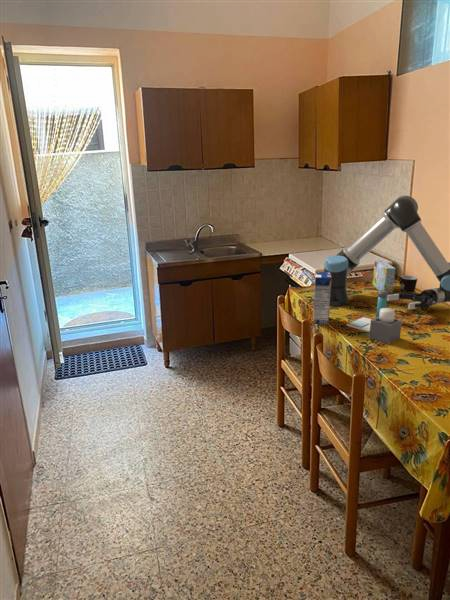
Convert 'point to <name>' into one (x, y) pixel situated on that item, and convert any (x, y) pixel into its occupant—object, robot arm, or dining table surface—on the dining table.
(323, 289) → the beverage box
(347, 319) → the dining table surface
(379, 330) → the button console
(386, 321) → the button
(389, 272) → the snack box
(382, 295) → the marker
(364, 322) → the white sorting board
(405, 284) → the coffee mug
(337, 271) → the robot arm
